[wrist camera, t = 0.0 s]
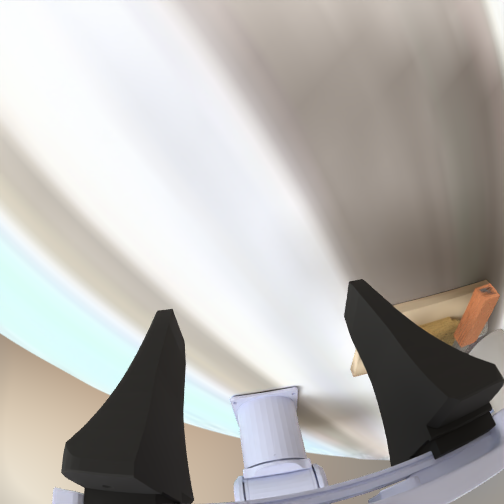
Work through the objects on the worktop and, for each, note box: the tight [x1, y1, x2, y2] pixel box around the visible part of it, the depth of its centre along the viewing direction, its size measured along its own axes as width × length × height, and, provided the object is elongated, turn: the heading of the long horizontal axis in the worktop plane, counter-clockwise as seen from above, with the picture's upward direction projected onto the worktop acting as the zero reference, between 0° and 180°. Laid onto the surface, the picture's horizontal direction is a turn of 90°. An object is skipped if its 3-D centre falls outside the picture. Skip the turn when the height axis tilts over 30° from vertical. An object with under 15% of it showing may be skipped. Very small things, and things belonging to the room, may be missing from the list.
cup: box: [469, 329, 504, 413], centre depth 35 cm, size 8×8×12 cm
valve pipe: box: [419, 317, 488, 346], centre depth 30 cm, size 4×16×4 cm, turn 95°
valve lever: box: [452, 284, 500, 353], centre depth 24 cm, size 12×2×2 cm, turn 5°
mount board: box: [351, 280, 490, 377], centre depth 32 cm, size 10×17×1 cm, turn 95°
